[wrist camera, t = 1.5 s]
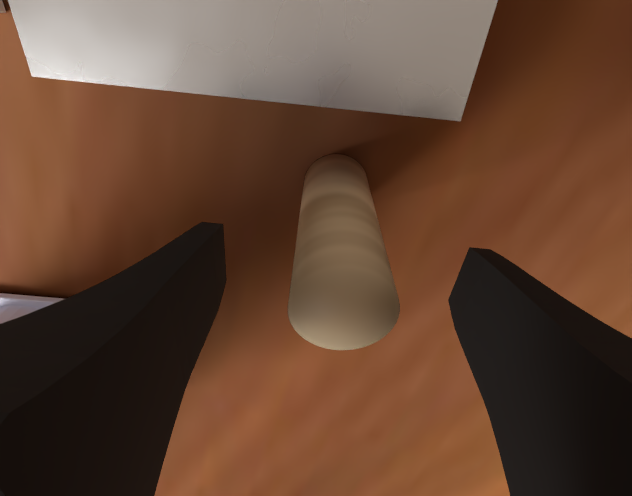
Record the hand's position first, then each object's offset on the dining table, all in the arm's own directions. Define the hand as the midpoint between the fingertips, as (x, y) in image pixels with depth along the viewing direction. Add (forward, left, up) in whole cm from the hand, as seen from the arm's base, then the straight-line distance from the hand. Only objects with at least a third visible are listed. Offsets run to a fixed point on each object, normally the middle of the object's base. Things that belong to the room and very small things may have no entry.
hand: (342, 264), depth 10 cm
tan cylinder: (0, 0, -6) cm, 6 cm away
